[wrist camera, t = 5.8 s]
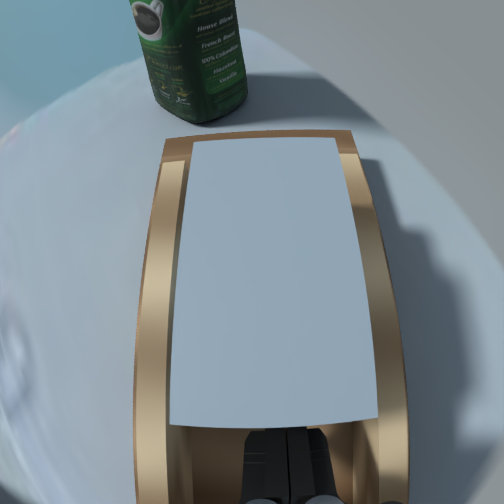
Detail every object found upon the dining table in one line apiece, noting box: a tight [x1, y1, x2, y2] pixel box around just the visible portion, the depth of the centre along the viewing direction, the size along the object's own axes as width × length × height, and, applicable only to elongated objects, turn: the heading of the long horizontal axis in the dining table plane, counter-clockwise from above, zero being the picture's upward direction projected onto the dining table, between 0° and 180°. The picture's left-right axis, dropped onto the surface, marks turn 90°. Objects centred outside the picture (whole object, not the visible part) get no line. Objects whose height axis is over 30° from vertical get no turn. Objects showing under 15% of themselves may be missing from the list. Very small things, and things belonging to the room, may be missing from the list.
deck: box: [133, 130, 410, 504], centre depth 15 cm, size 28×14×7 cm, turn 1°
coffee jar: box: [129, 0, 248, 123], centre depth 21 cm, size 10×8×19 cm
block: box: [170, 137, 378, 428], centre depth 12 cm, size 9×5×8 cm, turn 1°
